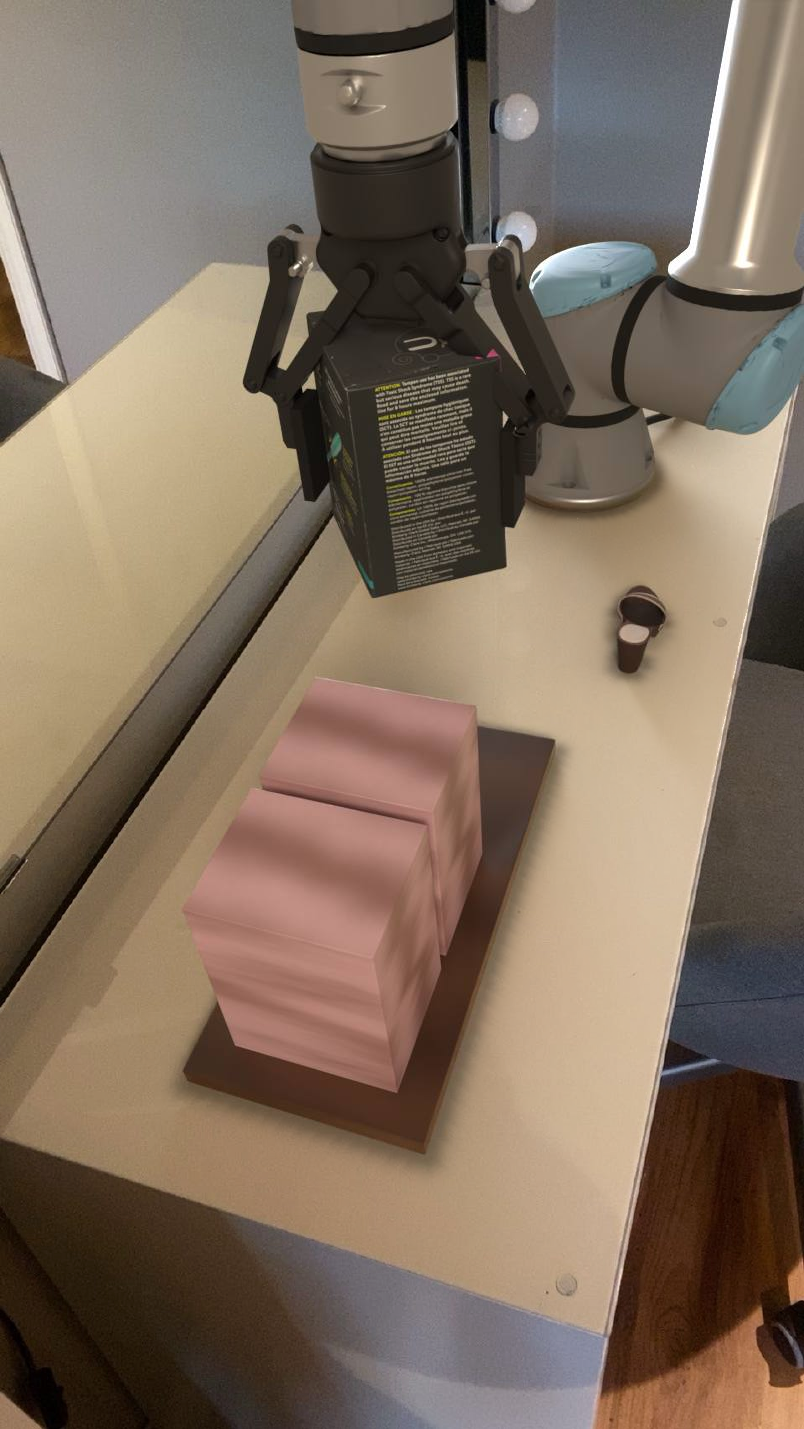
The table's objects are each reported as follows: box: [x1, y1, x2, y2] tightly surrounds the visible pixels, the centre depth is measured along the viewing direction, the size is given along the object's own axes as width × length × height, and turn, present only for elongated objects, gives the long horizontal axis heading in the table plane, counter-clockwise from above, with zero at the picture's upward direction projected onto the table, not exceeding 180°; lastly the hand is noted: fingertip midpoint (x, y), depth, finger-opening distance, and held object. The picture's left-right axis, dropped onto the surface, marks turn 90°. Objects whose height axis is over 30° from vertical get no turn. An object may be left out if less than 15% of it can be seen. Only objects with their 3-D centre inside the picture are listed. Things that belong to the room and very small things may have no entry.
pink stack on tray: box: [181, 676, 556, 1155], centre depth 70 cm, size 34×16×16 cm, turn 161°
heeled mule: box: [616, 584, 668, 674], centre depth 92 cm, size 4×11×4 cm, turn 162°
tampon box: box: [305, 303, 508, 599], centre depth 65 cm, size 11×9×15 cm
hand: (412, 503), depth 67 cm, fingers closed on tampon box, 12 cm apart
